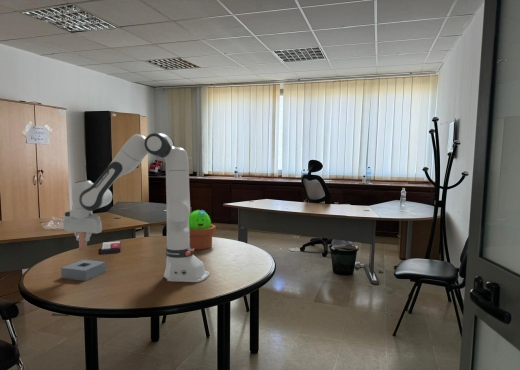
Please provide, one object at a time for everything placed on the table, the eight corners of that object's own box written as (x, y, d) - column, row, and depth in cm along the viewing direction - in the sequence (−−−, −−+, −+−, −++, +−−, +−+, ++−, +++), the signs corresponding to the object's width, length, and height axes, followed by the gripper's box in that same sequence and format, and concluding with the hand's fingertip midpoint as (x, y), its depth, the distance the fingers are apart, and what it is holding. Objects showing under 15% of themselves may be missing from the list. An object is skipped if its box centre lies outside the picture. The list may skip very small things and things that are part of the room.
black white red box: (100, 248, 206) (102, 241, 219) (100, 255, 206) (102, 248, 220) (120, 247, 210) (120, 240, 223) (120, 253, 210) (120, 246, 224)
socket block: (105, 271, 175) (105, 262, 174) (85, 280, 161) (85, 270, 161) (83, 268, 178) (83, 259, 178) (61, 277, 165) (61, 267, 165)
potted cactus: (180, 243, 234) (180, 207, 232) (212, 241, 240) (212, 206, 238) (183, 251, 213) (183, 212, 211) (218, 249, 219) (218, 211, 217)
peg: (88, 249, 170) (88, 225, 169) (83, 251, 167) (83, 226, 166) (82, 248, 171) (82, 225, 170) (77, 250, 168) (77, 226, 167)
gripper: (104, 213, 168) (105, 241, 169) (70, 210, 173) (71, 237, 174) (95, 215, 162) (96, 244, 163) (60, 212, 167) (61, 240, 168)
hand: (83, 240), depth 169 cm, fingers closed on peg, 3 cm apart
